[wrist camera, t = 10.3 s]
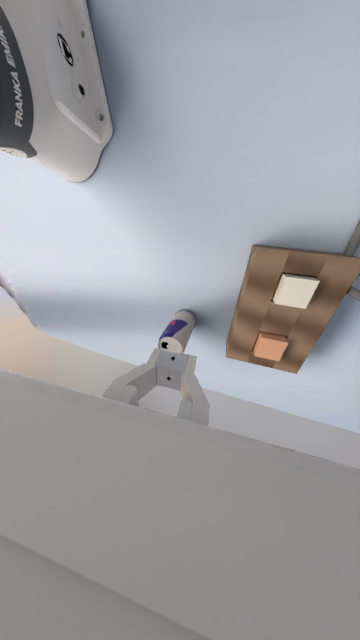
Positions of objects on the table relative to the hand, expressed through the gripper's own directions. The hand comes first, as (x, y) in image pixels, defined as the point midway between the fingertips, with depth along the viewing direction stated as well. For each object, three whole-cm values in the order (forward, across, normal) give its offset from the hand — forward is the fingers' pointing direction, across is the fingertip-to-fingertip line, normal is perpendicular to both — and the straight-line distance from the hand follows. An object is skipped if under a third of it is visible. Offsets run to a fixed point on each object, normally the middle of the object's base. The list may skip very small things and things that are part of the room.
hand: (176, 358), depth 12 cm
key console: (+26, -14, +6) cm, 30 cm away
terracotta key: (+22, -14, +11) cm, 28 cm away
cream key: (+22, -14, 0) cm, 27 cm away
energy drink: (+27, +4, +12) cm, 30 cm away
